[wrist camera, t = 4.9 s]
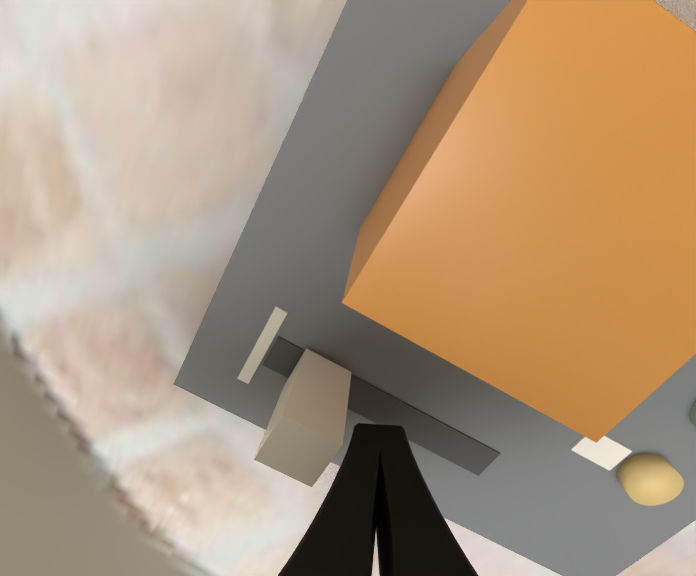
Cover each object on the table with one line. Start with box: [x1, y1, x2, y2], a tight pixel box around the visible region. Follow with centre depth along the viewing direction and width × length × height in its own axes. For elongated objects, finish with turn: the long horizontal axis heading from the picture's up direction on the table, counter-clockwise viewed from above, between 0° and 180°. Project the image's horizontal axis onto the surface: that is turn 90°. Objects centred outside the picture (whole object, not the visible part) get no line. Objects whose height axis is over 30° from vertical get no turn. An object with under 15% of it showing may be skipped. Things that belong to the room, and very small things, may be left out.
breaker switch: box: [254, 348, 352, 487], centre depth 10 cm, size 2×2×3 cm
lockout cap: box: [342, 0, 696, 443], centre depth 7 cm, size 4×4×5 cm
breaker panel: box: [174, 0, 696, 576], centre depth 11 cm, size 18×14×2 cm
